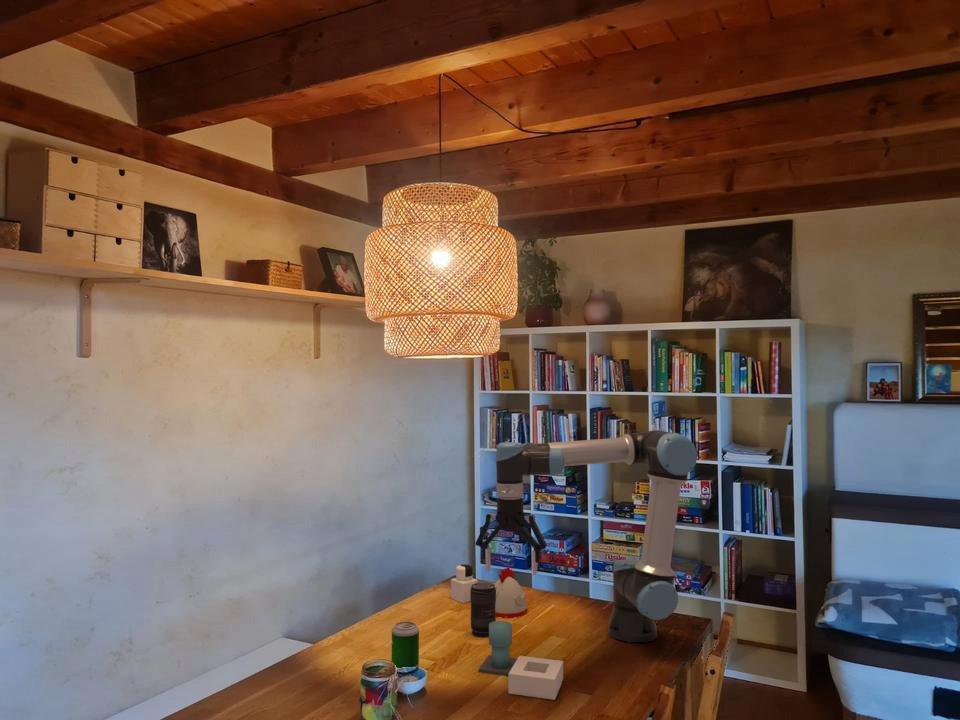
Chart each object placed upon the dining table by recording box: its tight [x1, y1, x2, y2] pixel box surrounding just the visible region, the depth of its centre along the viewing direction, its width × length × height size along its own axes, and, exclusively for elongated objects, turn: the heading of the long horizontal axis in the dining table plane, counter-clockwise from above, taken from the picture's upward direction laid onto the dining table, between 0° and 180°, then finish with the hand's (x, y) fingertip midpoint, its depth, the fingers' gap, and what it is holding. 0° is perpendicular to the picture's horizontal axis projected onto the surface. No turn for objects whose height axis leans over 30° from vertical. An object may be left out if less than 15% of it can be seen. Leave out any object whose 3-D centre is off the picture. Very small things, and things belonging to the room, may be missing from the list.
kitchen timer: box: [493, 566, 528, 619], centre depth 242 cm, size 14×14×15 cm
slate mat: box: [478, 654, 518, 677], centre depth 196 cm, size 10×10×1 cm
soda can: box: [391, 621, 420, 668], centre depth 195 cm, size 8×8×12 cm
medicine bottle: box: [450, 564, 479, 604], centre depth 255 cm, size 7×7×12 cm
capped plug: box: [488, 620, 513, 668], centre depth 196 cm, size 6×6×11 cm
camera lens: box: [469, 581, 497, 638], centre depth 222 cm, size 8×8×15 cm
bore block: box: [507, 655, 564, 701], centre depth 184 cm, size 12×12×5 cm
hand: (511, 572), depth 200 cm, fingers open, 13 cm apart
